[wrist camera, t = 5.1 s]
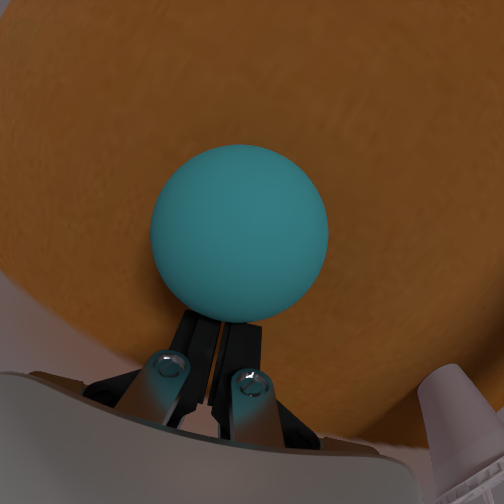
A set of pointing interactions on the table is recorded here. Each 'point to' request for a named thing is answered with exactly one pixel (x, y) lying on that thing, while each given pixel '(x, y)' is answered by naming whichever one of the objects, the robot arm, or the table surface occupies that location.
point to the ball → (239, 233)
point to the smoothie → (461, 437)
